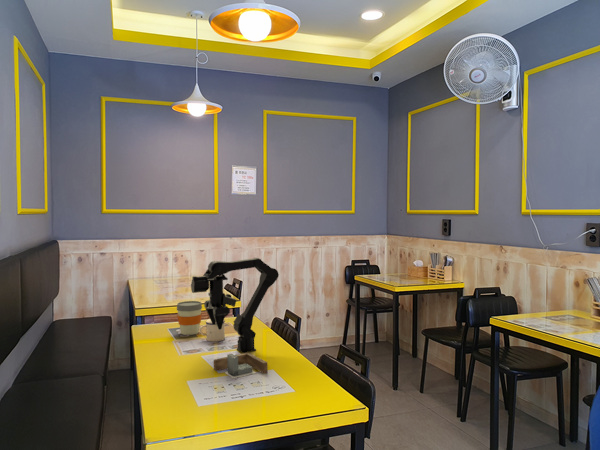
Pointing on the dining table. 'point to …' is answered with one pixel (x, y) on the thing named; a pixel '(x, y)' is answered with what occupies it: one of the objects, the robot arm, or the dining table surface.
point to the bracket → (237, 366)
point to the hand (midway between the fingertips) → (216, 327)
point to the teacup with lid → (213, 331)
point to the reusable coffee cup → (189, 317)
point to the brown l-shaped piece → (243, 362)
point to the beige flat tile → (240, 375)
